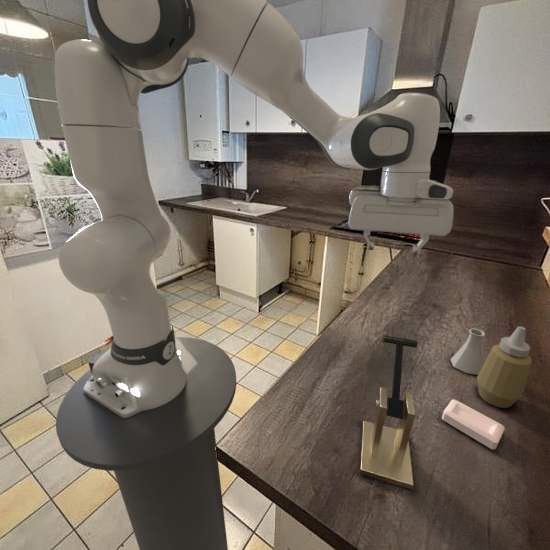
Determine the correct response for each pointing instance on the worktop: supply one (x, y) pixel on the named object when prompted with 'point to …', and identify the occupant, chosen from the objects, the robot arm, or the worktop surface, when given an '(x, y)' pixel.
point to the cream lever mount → (388, 444)
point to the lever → (397, 376)
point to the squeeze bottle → (505, 371)
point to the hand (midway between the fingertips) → (392, 251)
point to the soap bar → (473, 423)
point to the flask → (470, 353)
